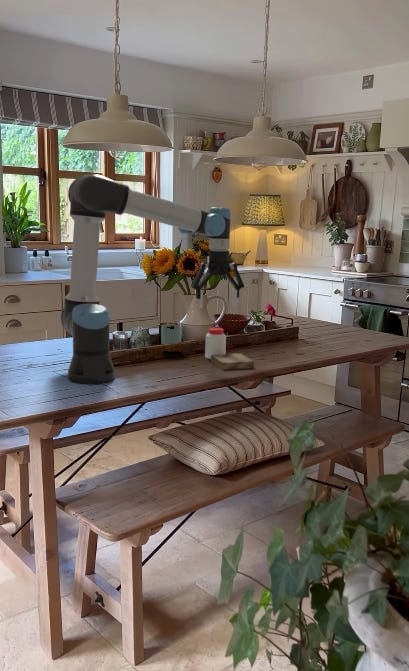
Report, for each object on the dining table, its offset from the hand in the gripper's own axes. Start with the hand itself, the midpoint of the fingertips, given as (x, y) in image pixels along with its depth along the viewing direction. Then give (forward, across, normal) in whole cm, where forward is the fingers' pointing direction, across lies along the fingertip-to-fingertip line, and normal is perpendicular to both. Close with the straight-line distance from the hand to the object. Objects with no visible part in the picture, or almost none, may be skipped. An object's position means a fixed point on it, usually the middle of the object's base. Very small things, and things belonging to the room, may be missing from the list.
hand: (217, 307), depth 229 cm
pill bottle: (+20, 0, 0) cm, 20 cm away
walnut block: (+20, +2, -12) cm, 23 cm away
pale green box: (+19, -14, +12) cm, 27 cm away
